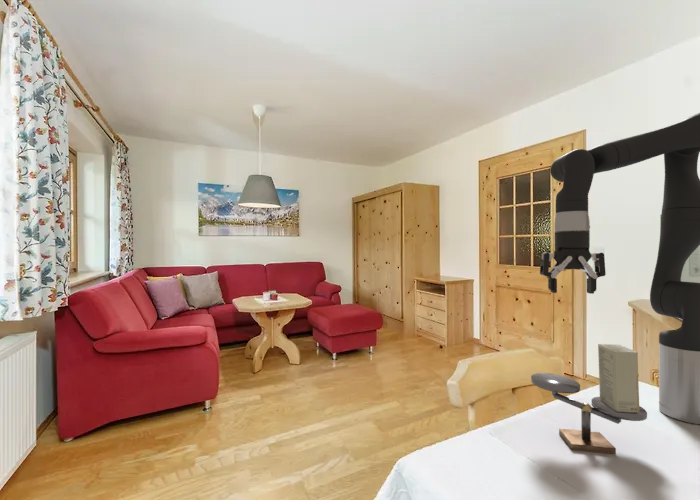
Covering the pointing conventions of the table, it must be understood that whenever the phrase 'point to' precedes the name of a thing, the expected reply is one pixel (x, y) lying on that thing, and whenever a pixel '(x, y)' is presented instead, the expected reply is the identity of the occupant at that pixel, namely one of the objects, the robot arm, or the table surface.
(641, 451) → the table surface
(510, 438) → the table surface
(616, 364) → the skincare box
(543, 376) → the balance
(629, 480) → the table surface
